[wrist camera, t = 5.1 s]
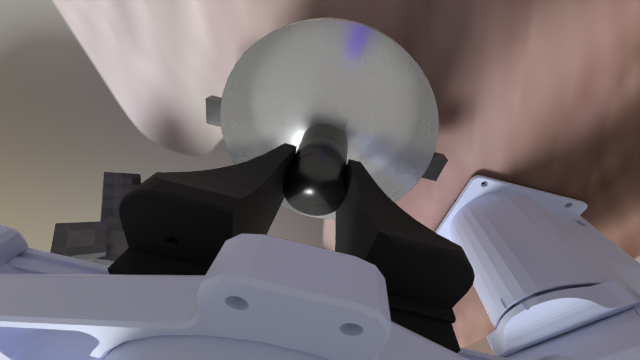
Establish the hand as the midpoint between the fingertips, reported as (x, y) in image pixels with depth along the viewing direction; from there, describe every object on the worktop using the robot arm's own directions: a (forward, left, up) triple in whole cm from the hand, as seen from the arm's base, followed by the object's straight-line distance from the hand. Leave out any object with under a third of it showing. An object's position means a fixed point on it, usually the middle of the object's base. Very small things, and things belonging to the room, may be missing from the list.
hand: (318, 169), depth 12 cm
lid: (0, -1, -4) cm, 4 cm away
